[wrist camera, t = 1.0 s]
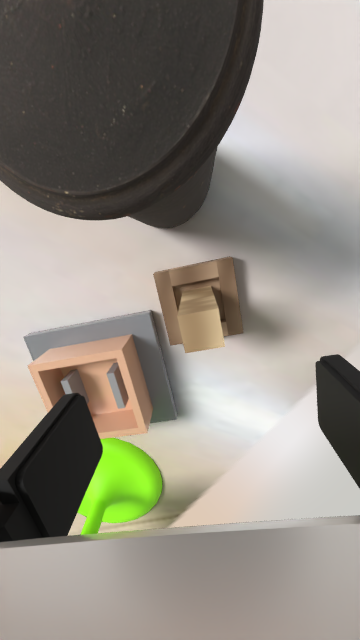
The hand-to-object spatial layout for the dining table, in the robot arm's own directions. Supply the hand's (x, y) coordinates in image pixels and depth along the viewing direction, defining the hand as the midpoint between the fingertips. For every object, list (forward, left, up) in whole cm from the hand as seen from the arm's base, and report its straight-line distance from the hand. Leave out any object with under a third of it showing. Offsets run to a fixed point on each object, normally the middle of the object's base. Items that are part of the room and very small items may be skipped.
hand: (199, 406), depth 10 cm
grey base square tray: (+13, +7, -18) cm, 23 cm away
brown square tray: (0, 0, -18) cm, 18 cm away
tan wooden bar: (0, 0, -18) cm, 18 cm away
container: (+1, -12, -19) cm, 22 cm away
